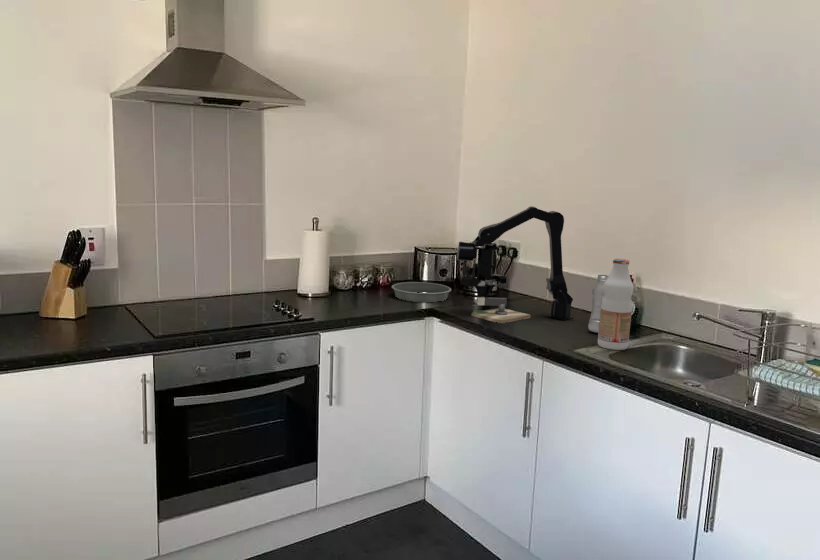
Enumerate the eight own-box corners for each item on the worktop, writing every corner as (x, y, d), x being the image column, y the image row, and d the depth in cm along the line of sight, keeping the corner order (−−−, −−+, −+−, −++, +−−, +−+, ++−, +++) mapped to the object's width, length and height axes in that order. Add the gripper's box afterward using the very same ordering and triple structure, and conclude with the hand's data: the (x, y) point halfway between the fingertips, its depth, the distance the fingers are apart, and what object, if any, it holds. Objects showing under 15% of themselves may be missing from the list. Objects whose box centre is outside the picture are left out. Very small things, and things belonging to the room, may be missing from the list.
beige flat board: (530, 318, 254) (530, 312, 254) (499, 323, 242) (499, 318, 242) (496, 309, 266) (497, 304, 266) (465, 314, 254) (466, 309, 254)
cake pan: (392, 290, 295) (392, 280, 295) (449, 293, 295) (449, 283, 295) (390, 302, 271) (390, 291, 270) (452, 305, 271) (452, 294, 270)
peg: (504, 309, 254) (505, 297, 254) (506, 310, 252) (507, 299, 251) (476, 308, 254) (477, 296, 253) (477, 309, 251) (478, 298, 250)
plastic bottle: (592, 329, 241) (598, 273, 238) (610, 333, 237) (616, 276, 233) (584, 332, 236) (589, 275, 233) (603, 336, 232) (608, 277, 229)
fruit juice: (597, 348, 216) (605, 260, 211) (597, 341, 225) (605, 256, 220) (628, 351, 213) (637, 262, 209) (627, 344, 222) (636, 259, 218)
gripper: (488, 257, 265) (485, 296, 267) (451, 259, 253) (449, 301, 256) (508, 261, 256) (505, 302, 259) (472, 263, 245) (469, 306, 247)
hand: (482, 302), depth 255 cm, fingers closed
